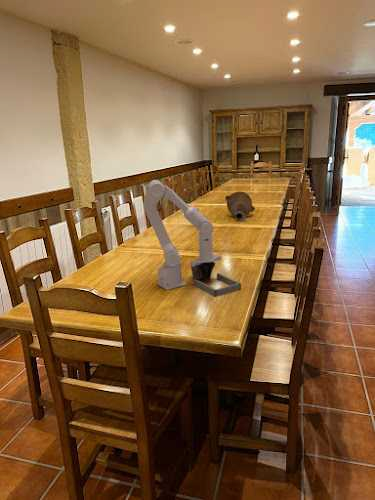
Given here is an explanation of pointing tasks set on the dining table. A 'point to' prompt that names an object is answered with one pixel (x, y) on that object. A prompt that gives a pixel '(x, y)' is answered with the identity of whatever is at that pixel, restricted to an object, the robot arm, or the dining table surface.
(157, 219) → the robot arm
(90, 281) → the dining table surface
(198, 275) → the box
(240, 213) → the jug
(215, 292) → the grey arch frame
